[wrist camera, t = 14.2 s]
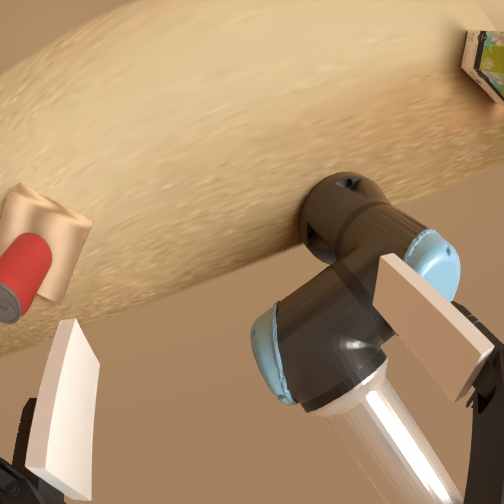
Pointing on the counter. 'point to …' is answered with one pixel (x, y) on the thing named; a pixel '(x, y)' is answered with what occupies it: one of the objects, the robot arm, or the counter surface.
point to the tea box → (486, 61)
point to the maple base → (46, 234)
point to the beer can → (22, 275)
